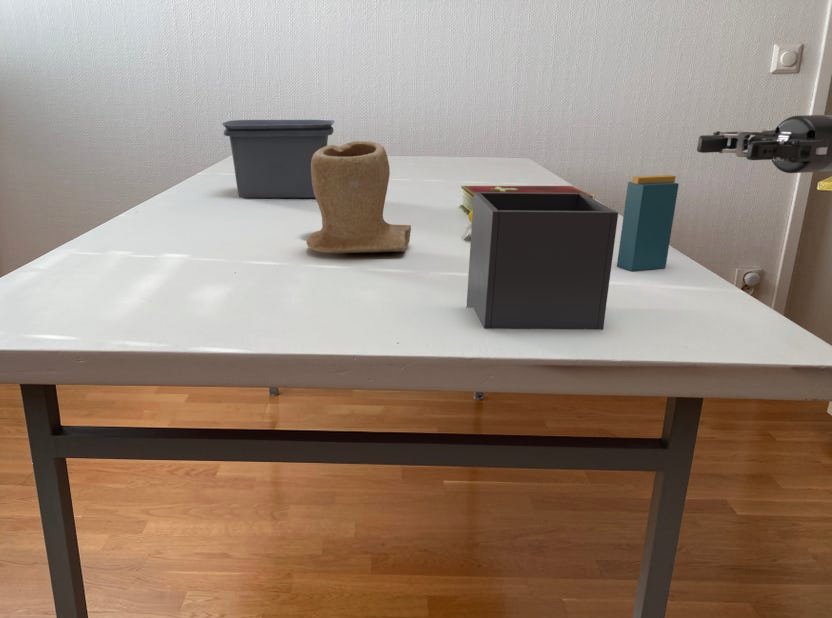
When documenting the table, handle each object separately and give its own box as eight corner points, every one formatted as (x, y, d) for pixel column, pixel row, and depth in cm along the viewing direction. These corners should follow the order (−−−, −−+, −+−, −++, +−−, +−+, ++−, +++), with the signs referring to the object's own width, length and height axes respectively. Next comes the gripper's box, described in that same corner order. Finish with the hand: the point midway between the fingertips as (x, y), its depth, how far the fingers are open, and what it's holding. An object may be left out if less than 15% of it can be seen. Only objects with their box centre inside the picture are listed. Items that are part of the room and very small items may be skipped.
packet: (651, 262, 105) (664, 173, 101) (666, 268, 102) (681, 176, 98) (615, 266, 103) (627, 175, 99) (630, 271, 100) (643, 178, 96)
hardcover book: (592, 218, 135) (595, 194, 134) (473, 219, 134) (475, 194, 132) (570, 206, 146) (572, 184, 145) (460, 207, 145) (461, 184, 143)
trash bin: (569, 310, 84) (583, 192, 79) (601, 345, 73) (618, 212, 69) (466, 310, 84) (473, 191, 79) (483, 344, 73) (492, 211, 69)
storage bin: (222, 200, 149) (218, 122, 144) (234, 188, 164) (231, 117, 159) (333, 201, 149) (333, 124, 144) (335, 189, 164) (335, 118, 159)
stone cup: (305, 263, 103) (304, 146, 98) (306, 243, 114) (305, 137, 109) (419, 262, 104) (424, 146, 98) (409, 243, 115) (413, 138, 109)
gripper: (779, 111, 111) (688, 113, 106) (871, 118, 99) (774, 121, 93) (768, 165, 114) (679, 169, 109) (857, 178, 101) (762, 184, 96)
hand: (723, 147), depth 101 cm, fingers open, 8 cm apart
